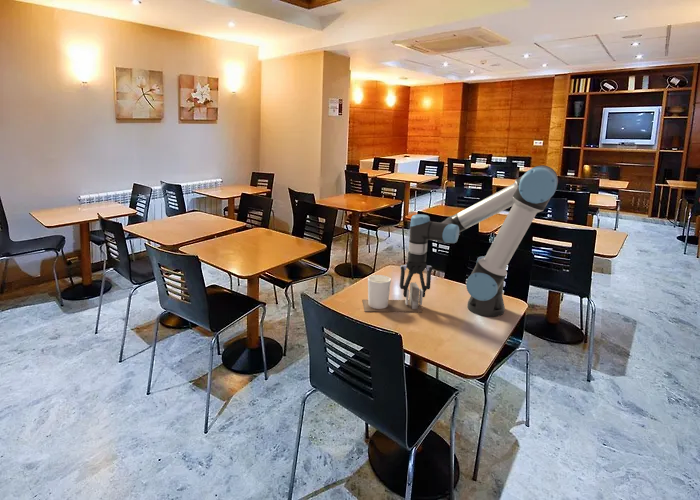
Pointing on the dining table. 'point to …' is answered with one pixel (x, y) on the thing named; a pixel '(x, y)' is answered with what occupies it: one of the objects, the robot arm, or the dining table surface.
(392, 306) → the board
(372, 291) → the candle holder
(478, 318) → the dining table surface
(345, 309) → the dining table surface
